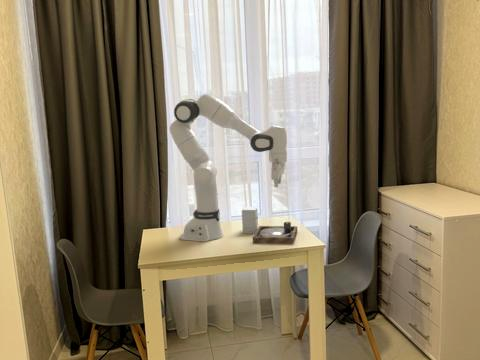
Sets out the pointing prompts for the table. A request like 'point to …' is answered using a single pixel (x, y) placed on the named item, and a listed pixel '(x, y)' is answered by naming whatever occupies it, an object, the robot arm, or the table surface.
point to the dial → (277, 231)
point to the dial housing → (275, 239)
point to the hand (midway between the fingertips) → (277, 185)
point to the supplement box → (249, 219)
